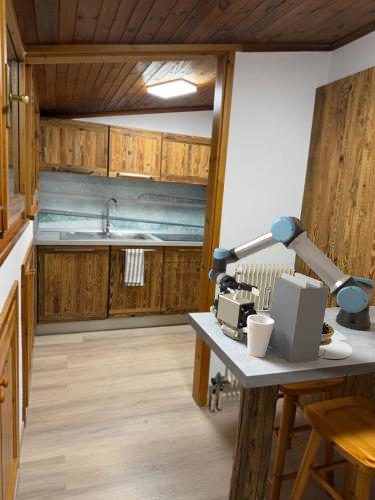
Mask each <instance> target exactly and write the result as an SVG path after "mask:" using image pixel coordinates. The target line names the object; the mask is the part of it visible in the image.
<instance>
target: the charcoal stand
mask: <svg viewBox="0 0 375 500" xmlns="http://www.w3.org/2000/svg"><path fill="white" fill-rule="evenodd" d="M273 283H274V284H273V290H272V297H271V298H272V299H271V306H270V313H269V314H270V315H269V317H270V318H271V319H273V320H274V327H273V329H272V333H271V336H270V340H269V343H268V347H269V348H271V350H273V351H275V352H276V353H277V354H278V355H280V356H281V357H282V358H283V359H284V360H286V361H287V362H288V363H289V364H292V363H300V362H309V361H317V360H318V359H319V354H320V352H319V351H320V347H321V340H322V333H323V329H324V328H323V327H324V322H325V315H326V309H327V304H328V303H327V302H328V298H329V297H328V296H329V292H330V287H329V286H325V285H324V281H321V280H318V279H315V278H312V277H310V276H307V275H305V274H303V273H299V272H294V276H293V275H291V274H289V273H286V272H281V276H275V277H274V282H273Z"/></svg>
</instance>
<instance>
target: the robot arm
mask: <svg viewBox="0 0 375 500" xmlns="http://www.w3.org/2000/svg"><path fill="white" fill-rule="evenodd" d="M307 232H308V231H306V230H305V229H304V224H303V222H302V220H301V219H299V218H298V217H296V216H280V217H278V218H276V219H275V220H274V221H273V222H272V223H271V226H270V230H269V231H266V232H265V233H262V234H261V235H258V236H256V237H254V238H252V239H249V240H248V241H246V242H243V243H241V244H239V245H237V246H235V247H233V248H231V249H227V248H223V247H216V248H215V249H214V252H213V255H212V256H213V257H212V269H210V271H209V272H208V279H210V281H211V282H213V284H215V285H217V286H218V288H219V294H225V293H233V294H236V291H246V292H250V293H251V294H253V295H255V296H257V297H259V298H261V293H262V291H261V290H259V289H258V286H256V285H252V284H249V283H247V282H243V281H241V282H238V281H236V278H235V277H234V276H231V275H229V274H228V273H227V267H228V265H230V264H235V263H237V262H239V261H240V260H242V259H244V258H247V257H249V256H251V255H254V254H256V253H258V252H261V251H263V250H265V249H267V248H270V247H272V246H274V245H275V246H276V245H277V244H279V243H282V245H283V246H284V247H285V248H286V249H287V250H292V251H293V252H294V253H295V254H296V255H297V256H299V258H301V260H303V262H304V263H305V264H306V265H307V266H308V267H309V268H310V269H311V270H312V271H313V272H314V273H315V274H316V275H317V276H318V277H319V278H320V279H321V280H322V282H323V283H325V284H326V285H327V287H328V288H329V292H330V294H331V295H332V296H333V297H334V298H335V300H336V303H337V305H338V306H339V308H340V309H339V311H338V313H337V315H336V316H335V322H336V323H337V324H338V325H340V326H342V327H345V328H347V329H350V330H355V331H356V330H357V331H368V330H370V329H371V326H372V325H371V324H372V323H371V318H370V307H371V303H372V302H371V301H372V297H373V291H374V288H375V286H374V285H375V282H374V280H373V279H369V278H364V277H359V276H355V275H354V276H352V275H349V274H348V275H347V274H345V272H343V271H342V270H341V269H340V268H339V267H338V266H337V265H336V264H335V263H334V262H333V261H332V260H331V259H330V258H329V257H328V256H327V255H326V254H325V253H324V252H323V251H321V249H320V248H319V247H318V246H317V245H316V244H315V243H314V242H313V241H312V240H311V239H309V238H308V236H307V235H308V234H307ZM234 290H236V291H234Z"/></svg>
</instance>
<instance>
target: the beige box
mask: <svg viewBox="0 0 375 500" xmlns="http://www.w3.org/2000/svg"><path fill="white" fill-rule="evenodd" d="M209 309H210V312H211V313H212V314H214V318H215V319H216V320H217V321H216V322H217V323H218V324H222V323H223V320H221V319H219V318H217V317H216V310H215V308H214V304H213V305H212V306H210V308H209Z"/></svg>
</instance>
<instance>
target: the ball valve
mask: <svg viewBox="0 0 375 500" xmlns="http://www.w3.org/2000/svg"><path fill="white" fill-rule="evenodd" d="M255 304H256V303H255V302H254V301H252V300H249V299H248V298H246V297H244V296H239V294H238V293H235V294H233V293H225V294H224V293H218V294H217V297H215V300H214V301H213V305H214V308H215V310H216V317H217V318H219V319H221V320H222V322H224V323H223V324H222V325H221V329H220V330H221V331H222V333H223V334H225V335H226V336H228V337H230V338H231V339H233V340H236V341H241V340H242V339H243V338H244V332H245V331H244V329H245V328H247V318H248V316H250V315H257V314H258V313H257V310H256V309H255V308H256V307H255Z"/></svg>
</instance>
